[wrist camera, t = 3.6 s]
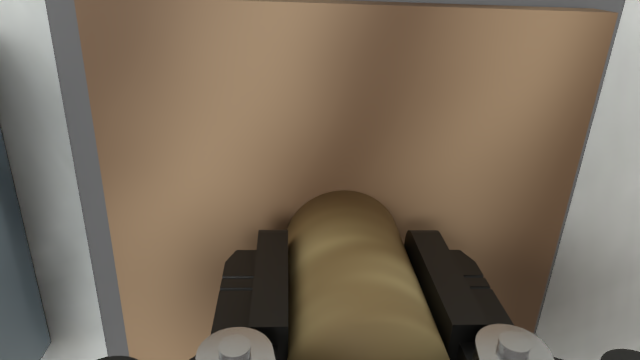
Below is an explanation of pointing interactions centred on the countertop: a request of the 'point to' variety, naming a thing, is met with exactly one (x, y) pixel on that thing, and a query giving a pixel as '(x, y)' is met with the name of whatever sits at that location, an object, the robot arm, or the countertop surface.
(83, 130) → the mat
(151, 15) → the lid
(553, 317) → the countertop surface
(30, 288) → the tub
